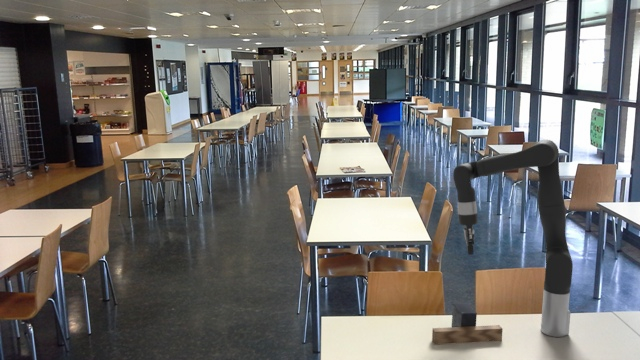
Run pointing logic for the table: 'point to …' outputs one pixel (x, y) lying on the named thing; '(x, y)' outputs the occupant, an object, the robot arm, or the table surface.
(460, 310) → the small box
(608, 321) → the table surface
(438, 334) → the walnut board
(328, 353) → the table surface
